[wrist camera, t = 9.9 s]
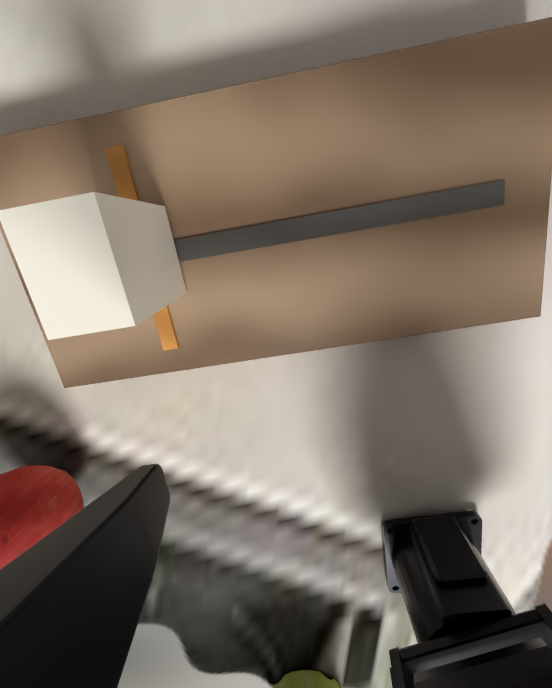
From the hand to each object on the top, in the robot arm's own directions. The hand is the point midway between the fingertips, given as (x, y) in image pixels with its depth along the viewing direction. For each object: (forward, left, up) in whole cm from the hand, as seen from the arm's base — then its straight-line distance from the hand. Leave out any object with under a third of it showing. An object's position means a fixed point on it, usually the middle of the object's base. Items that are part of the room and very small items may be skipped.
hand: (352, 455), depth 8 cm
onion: (-8, +18, -12) cm, 23 cm away
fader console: (+5, +1, -12) cm, 13 cm away
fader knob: (+5, +7, -10) cm, 13 cm away
